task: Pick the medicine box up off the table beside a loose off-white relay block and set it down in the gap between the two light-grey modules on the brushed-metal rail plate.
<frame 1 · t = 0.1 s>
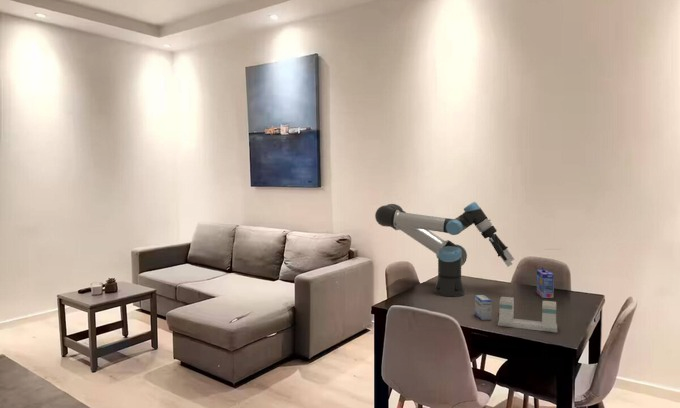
hand: (511, 263, 239), 15 cm above the table, tool tilted 35°, fingers open, 13 cm apart
medicine box: (482, 317, 200), on the table
relay block: (506, 315, 203), on the table
ink cartridge box: (544, 296, 233), on the table
rail station: (527, 325, 188), on the table
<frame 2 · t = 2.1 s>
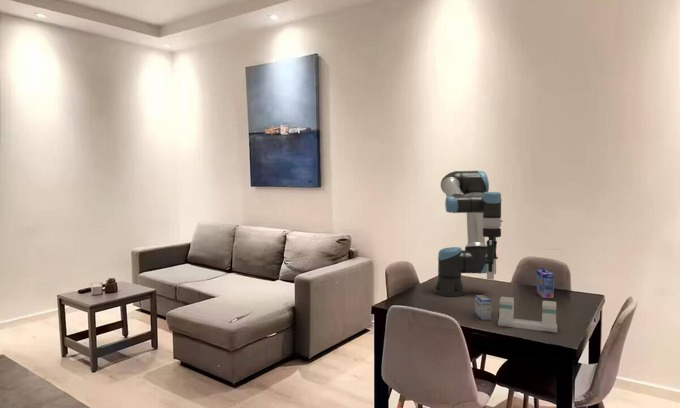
hand: (491, 276, 201), 17 cm above the table, tool pointing down, fingers open, 13 cm apart
nothing on the table moved.
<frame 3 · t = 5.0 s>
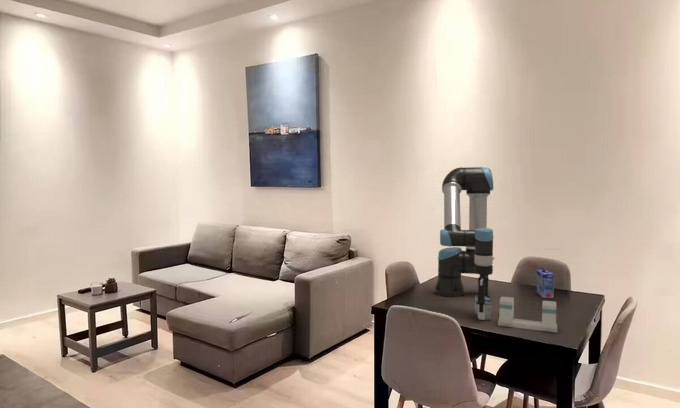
hand: (482, 315, 200), 0 cm above the table, tool pointing down, fingers closed on medicine box, 9 cm apart
medicine box: (482, 317, 200), on the table, touching gripper
everything else where it was.
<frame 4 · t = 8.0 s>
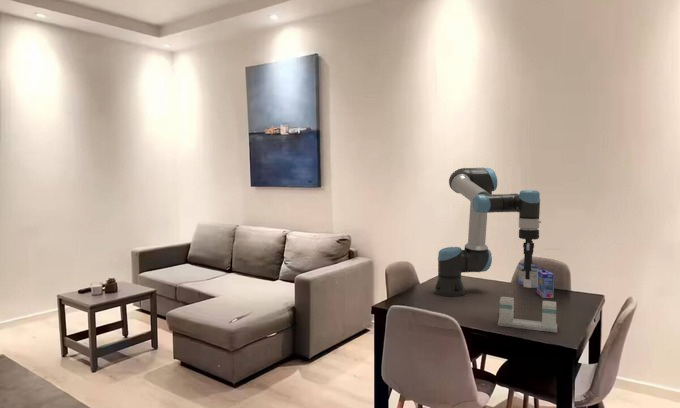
hand: (527, 284, 187), 17 cm above the table, tool pointing down, fingers closed on medicine box, 9 cm apart
medicine box: (527, 285, 187), point 17 cm above the table, touching gripper
everything else where it was.
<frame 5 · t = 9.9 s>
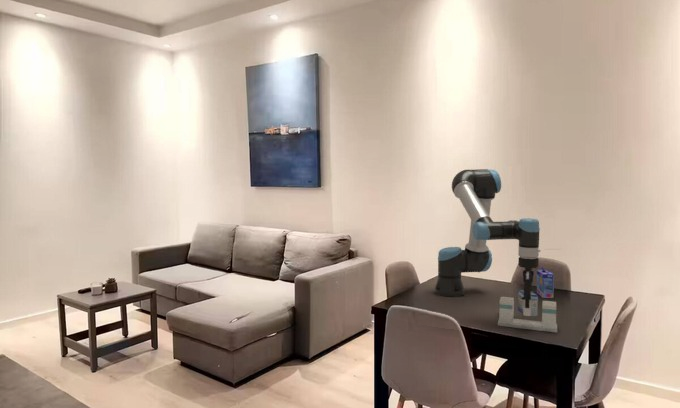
hand: (527, 312, 188), 6 cm above the table, tool pointing down, fingers closed on medicine box, 9 cm apart
medicine box: (527, 313, 188), point 5 cm above the table, touching gripper
everything else where it was.
when the fingers open (3 cm above the table, at t = 11.4 s): medicine box drops 2 cm, resting on rail station.
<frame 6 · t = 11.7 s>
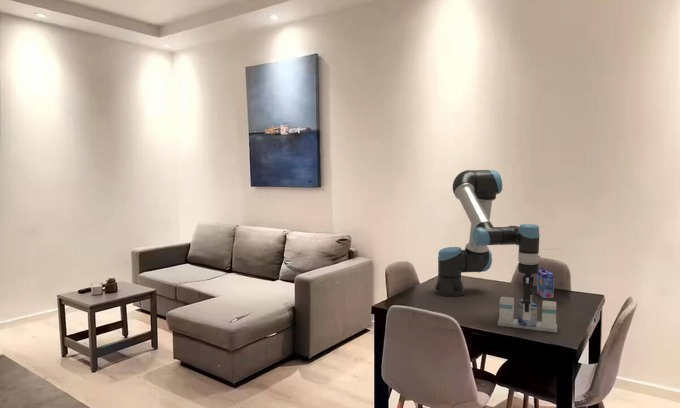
hand: (527, 314, 188), 5 cm above the table, tool pointing down, fingers open, 13 cm apart
medicine box: (527, 323, 189), point 1 cm above the table, touching rail station
everything else where it was.
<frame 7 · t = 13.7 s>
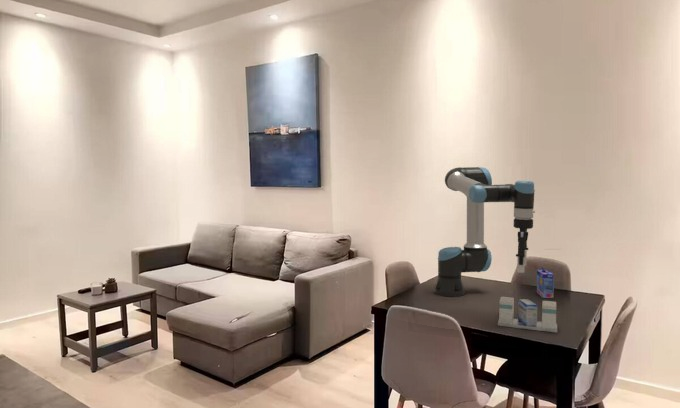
hand: (521, 268, 193), 22 cm above the table, tool pointing down, fingers open, 13 cm apart
nothing on the table moved.
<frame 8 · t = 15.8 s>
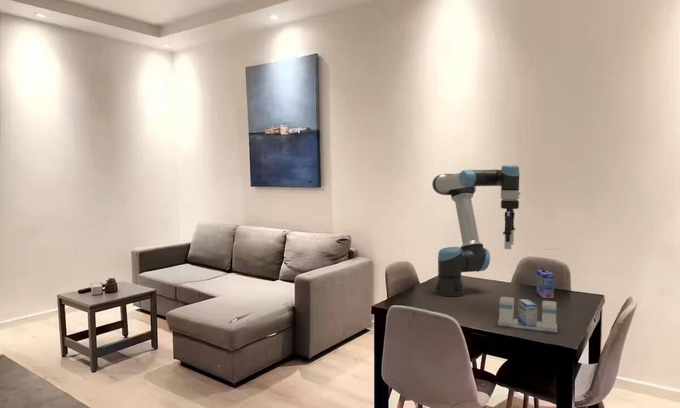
hand: (509, 246, 209), 29 cm above the table, tool pointing down, fingers open, 13 cm apart
nothing on the table moved.
at the end: medicine box inside the target area on the rail station (0.4 cm from its centre), point 1.0 cm above the rail station's base; medicine box tilted 0°; the gripper is holding nothing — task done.
